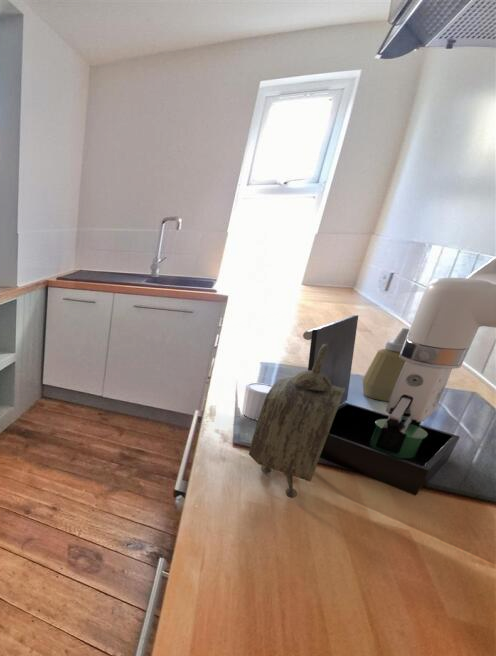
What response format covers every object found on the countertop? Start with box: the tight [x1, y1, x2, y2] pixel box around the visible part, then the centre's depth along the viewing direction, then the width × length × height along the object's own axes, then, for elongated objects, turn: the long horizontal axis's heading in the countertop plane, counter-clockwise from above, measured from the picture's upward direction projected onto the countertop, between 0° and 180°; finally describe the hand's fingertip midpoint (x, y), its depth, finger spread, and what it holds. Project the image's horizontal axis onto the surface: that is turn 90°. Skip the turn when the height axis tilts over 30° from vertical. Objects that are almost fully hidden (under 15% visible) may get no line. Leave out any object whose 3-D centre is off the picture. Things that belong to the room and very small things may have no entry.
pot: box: [369, 419, 428, 459], centre depth 77 cm, size 7×7×5 cm
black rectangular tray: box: [319, 401, 461, 496], centre depth 79 cm, size 18×20×6 cm
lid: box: [302, 314, 359, 405], centre depth 84 cm, size 18×20×5 cm
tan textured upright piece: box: [248, 344, 345, 499], centre depth 70 cm, size 14×9×25 cm, turn 136°
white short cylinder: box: [241, 382, 273, 420], centre depth 95 cm, size 7×7×7 cm
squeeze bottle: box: [362, 327, 410, 402], centre depth 102 cm, size 8×8×18 cm
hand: (394, 442), depth 77 cm, fingers closed on pot, 7 cm apart
